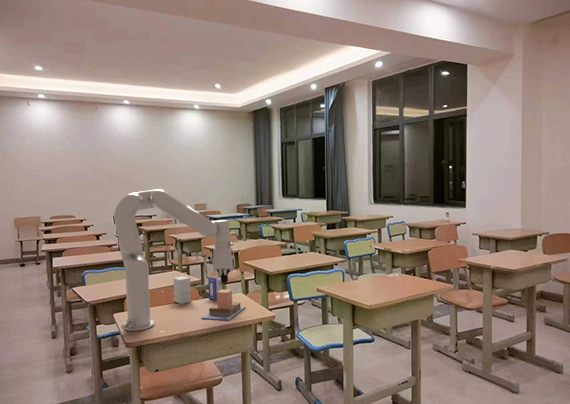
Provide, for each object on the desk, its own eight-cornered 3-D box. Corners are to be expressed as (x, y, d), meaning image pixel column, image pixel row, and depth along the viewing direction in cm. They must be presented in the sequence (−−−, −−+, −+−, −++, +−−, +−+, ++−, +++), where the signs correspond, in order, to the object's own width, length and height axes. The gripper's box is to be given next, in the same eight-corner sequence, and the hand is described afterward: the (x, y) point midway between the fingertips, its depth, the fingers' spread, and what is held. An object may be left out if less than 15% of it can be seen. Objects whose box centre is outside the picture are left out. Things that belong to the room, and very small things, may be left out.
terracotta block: (227, 307, 195) (227, 292, 195) (217, 306, 196) (216, 292, 196) (232, 303, 200) (231, 289, 200) (222, 303, 202) (221, 289, 202)
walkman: (209, 298, 225) (208, 277, 224) (212, 297, 227) (211, 276, 227) (219, 300, 221) (219, 278, 220) (223, 299, 223) (222, 277, 223)
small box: (191, 301, 220) (190, 278, 220) (180, 304, 216) (179, 280, 216) (184, 299, 226) (183, 275, 226) (174, 301, 222) (173, 277, 222)
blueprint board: (228, 320, 186) (228, 319, 186) (201, 318, 190) (201, 317, 190) (245, 308, 205) (245, 306, 205) (220, 306, 209) (220, 305, 209)
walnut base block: (230, 315, 191) (230, 309, 191) (209, 314, 194) (209, 308, 194) (240, 308, 203) (240, 302, 202) (220, 307, 206) (220, 301, 206)
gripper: (240, 244, 199) (241, 281, 199) (212, 244, 203) (214, 280, 204) (233, 246, 192) (235, 285, 192) (205, 246, 196) (207, 284, 197)
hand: (224, 282), depth 198 cm, fingers closed
